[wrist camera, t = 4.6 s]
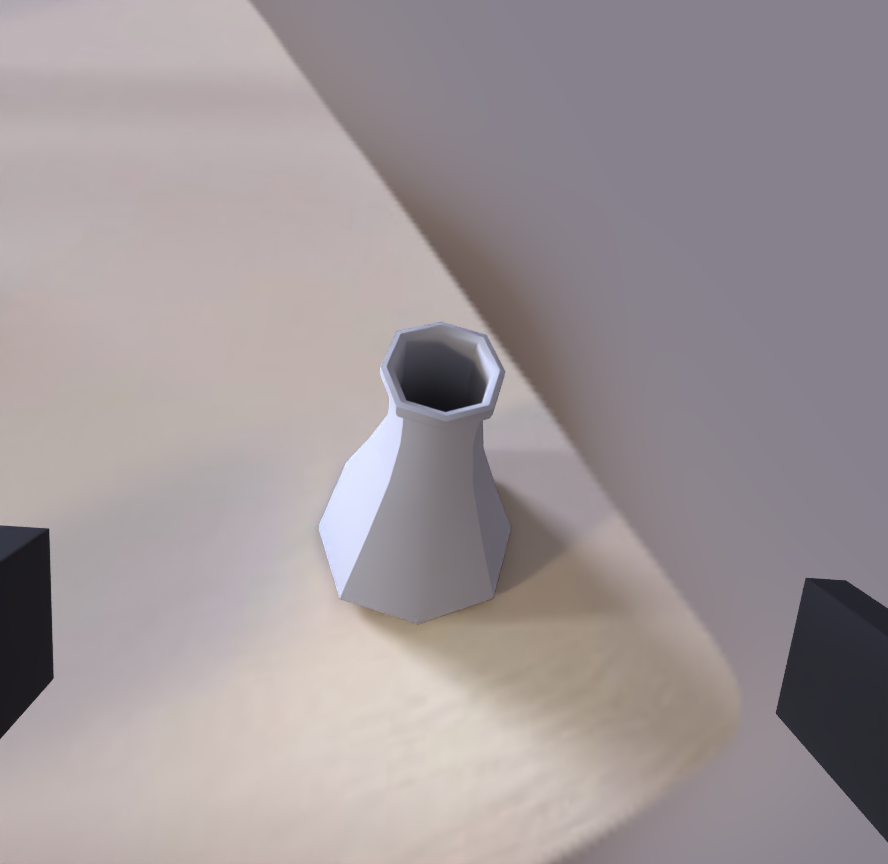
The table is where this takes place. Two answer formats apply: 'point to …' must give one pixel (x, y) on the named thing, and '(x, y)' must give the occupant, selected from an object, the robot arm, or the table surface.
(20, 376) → the table surface
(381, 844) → the table surface
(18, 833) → the table surface
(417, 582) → the flask
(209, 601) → the table surface
